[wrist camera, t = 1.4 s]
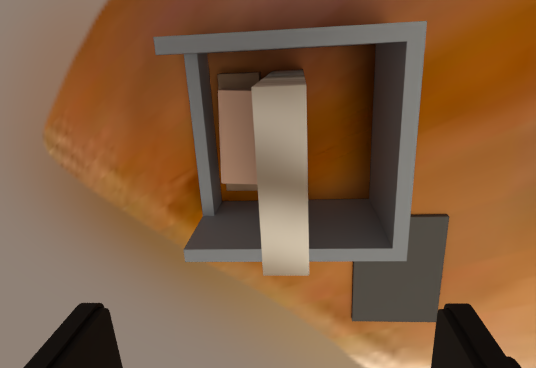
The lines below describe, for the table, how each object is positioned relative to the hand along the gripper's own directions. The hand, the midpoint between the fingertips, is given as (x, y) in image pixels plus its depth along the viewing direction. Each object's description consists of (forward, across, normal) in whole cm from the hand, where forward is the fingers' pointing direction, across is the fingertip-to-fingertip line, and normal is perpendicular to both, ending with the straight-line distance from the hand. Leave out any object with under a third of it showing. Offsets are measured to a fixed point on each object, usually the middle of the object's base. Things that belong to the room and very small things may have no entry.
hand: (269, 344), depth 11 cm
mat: (+30, -12, +17) cm, 37 cm away
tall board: (+31, 0, 0) cm, 31 cm away
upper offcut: (+28, +5, 0) cm, 29 cm away
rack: (+30, 0, 0) cm, 30 cm away
